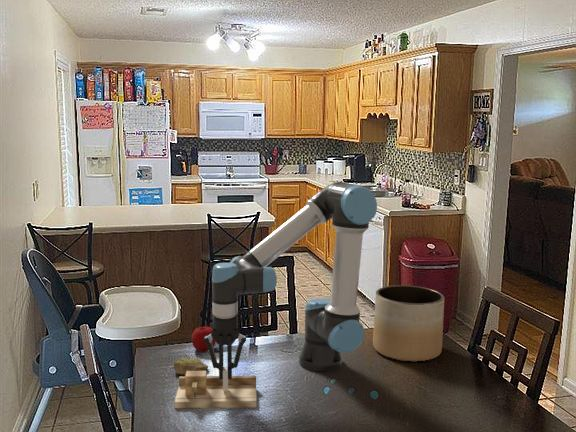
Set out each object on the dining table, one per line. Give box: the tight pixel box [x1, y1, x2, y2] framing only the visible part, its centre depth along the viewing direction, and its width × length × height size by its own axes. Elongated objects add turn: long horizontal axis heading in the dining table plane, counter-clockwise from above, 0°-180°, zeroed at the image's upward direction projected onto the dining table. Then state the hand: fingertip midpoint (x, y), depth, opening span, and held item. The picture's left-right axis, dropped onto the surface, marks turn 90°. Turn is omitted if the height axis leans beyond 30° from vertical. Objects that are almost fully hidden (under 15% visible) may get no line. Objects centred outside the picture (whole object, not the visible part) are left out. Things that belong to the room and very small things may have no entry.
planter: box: [372, 284, 445, 363], centre depth 216 cm, size 25×25×22 cm
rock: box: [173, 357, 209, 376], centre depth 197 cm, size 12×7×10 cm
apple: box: [191, 324, 217, 353], centre depth 214 cm, size 9×9×10 cm
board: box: [174, 375, 257, 409], centre depth 176 cm, size 24×12×4 cm, turn 94°
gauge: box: [184, 370, 207, 397], centre depth 173 cm, size 6×8×6 cm
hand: (225, 388), depth 177 cm, fingers closed
